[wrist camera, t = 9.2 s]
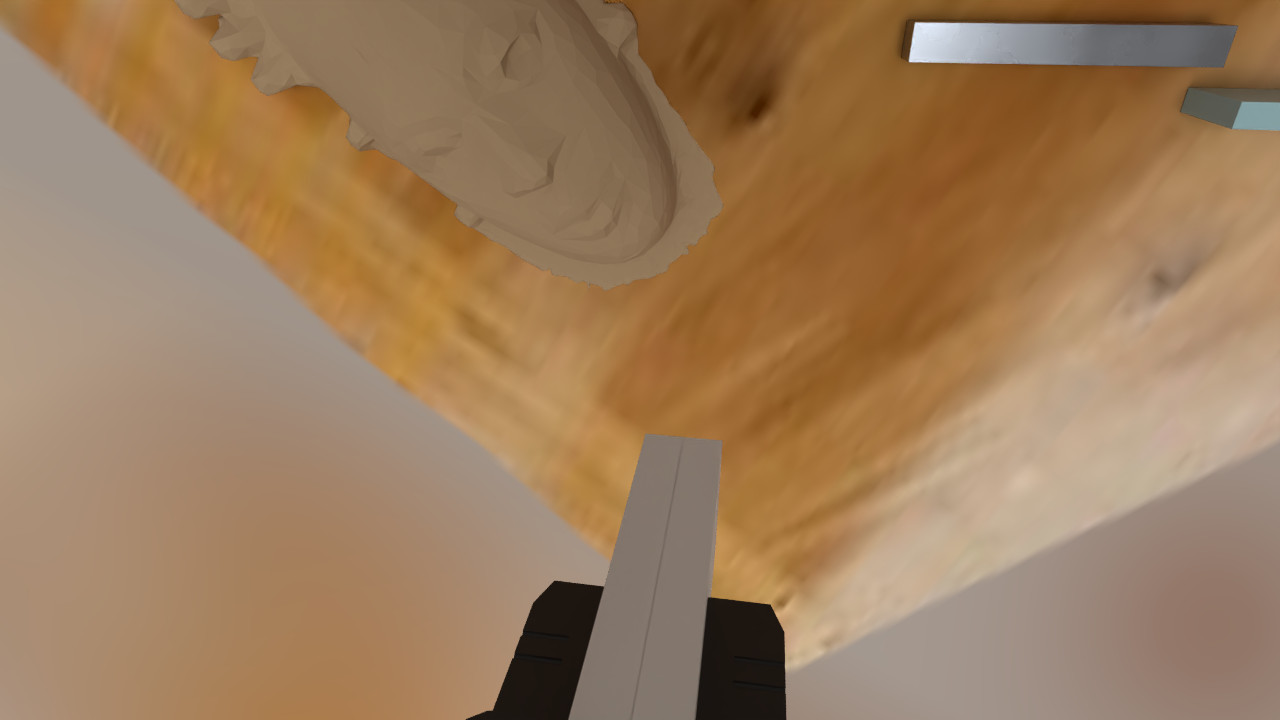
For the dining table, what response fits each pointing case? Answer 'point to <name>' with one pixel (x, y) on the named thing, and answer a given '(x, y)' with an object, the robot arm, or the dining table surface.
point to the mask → (501, 117)
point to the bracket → (1235, 107)
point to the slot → (1068, 43)
